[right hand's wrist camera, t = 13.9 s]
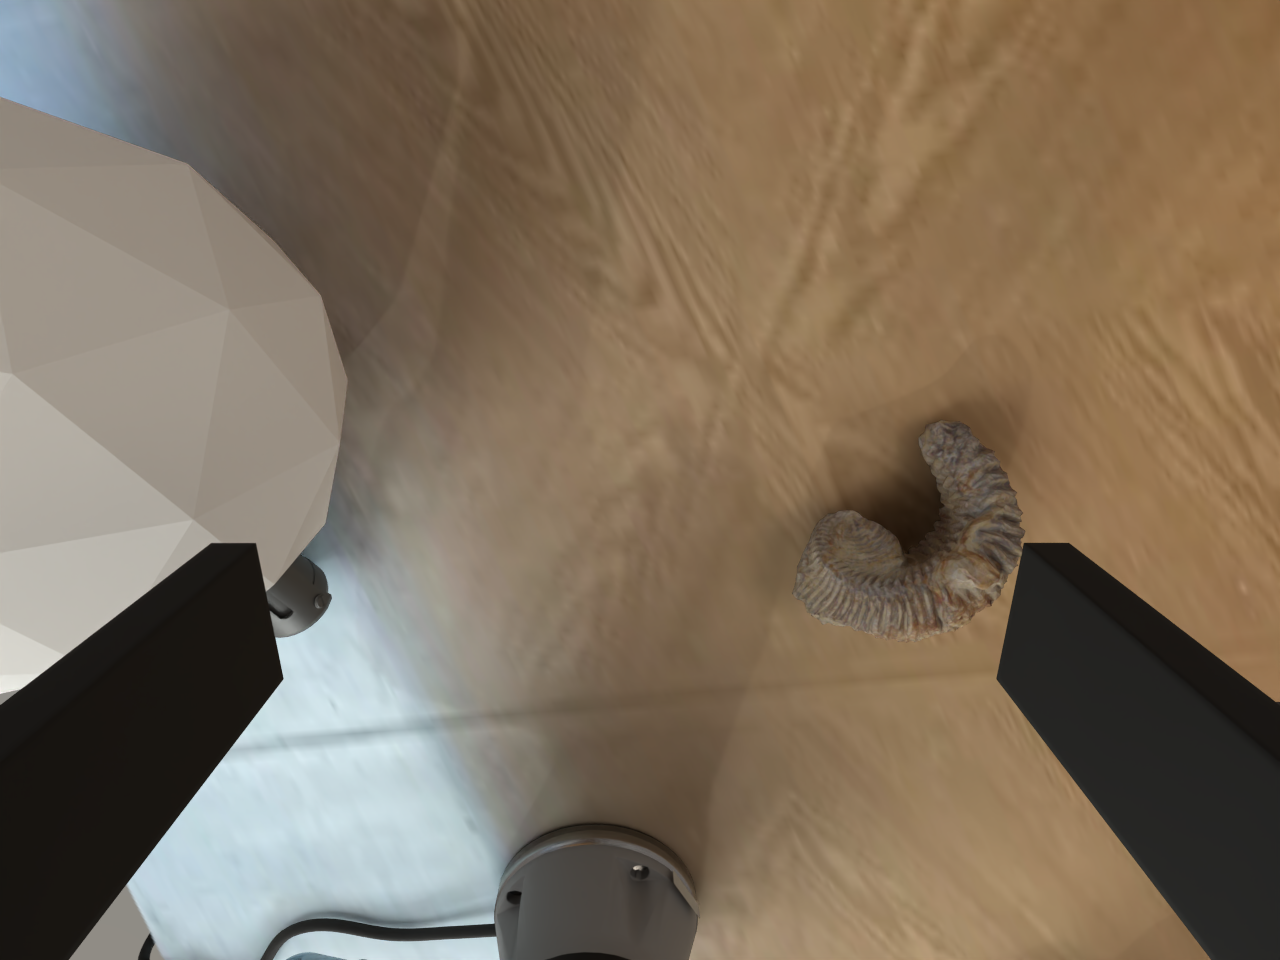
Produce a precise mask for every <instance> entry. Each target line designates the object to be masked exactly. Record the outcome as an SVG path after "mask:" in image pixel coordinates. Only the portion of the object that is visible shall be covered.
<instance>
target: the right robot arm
mask: <svg viewBox="0 0 1280 960" xmlns="http://www.w3.org/2000/svg"><path fill="white" fill-rule="evenodd" d="M282 680H283V674H282V669H281V664H280V659H279V654H278V649H277V644H276V639H275V634H274V629H273V624H272V619H271V615H270V610H269V605H268V600H267V595H266V590H265V585H264V580H263V575H262V570H261V565H260V560H259V555H258V550H257V545H256V543H211V544H209V545H208V546H207V547H205V548H204V549H203V550H201V551H200V552H199V553H198V554H196V555H195V556H194V557H192V558H191V559H190V560H188V561H187V562H186V563H185V564H183V565H182V566H181V567H179V568H178V569H177V570H175V571H174V572H173V573H172V574H170V575H169V576H168V577H166V578H165V579H164V580H162V581H161V582H160V583H159V584H157V585H156V586H155V587H153V588H152V589H151V590H149V591H148V592H147V593H146V594H144V595H143V596H142V597H140V598H139V599H138V600H136V601H135V602H134V603H133V604H131V605H130V606H129V607H127V608H126V609H125V610H123V611H122V612H121V613H120V614H118V615H117V616H116V617H114V618H113V619H112V620H110V621H109V622H108V623H107V624H105V625H104V626H103V627H101V628H100V629H99V630H97V631H96V632H95V633H94V634H92V635H91V636H90V637H88V638H87V639H86V640H84V641H83V642H82V643H81V644H79V645H78V646H77V647H75V648H74V649H73V650H71V651H70V652H69V653H68V654H66V655H65V656H64V657H62V658H61V659H60V660H58V661H57V662H56V663H55V664H53V665H52V666H51V667H49V668H48V669H47V670H45V671H44V672H43V673H42V674H40V675H39V676H38V677H36V678H35V679H34V680H32V681H31V682H30V683H29V684H27V685H26V686H25V687H23V688H22V689H21V690H19V691H18V692H17V693H16V694H14V695H13V696H12V697H10V698H9V699H8V700H6V701H5V702H4V703H3V704H1V705H0V960H69V959H70V957H71V956H72V955H73V953H74V952H75V951H76V949H77V948H78V947H79V946H80V944H81V943H82V942H83V940H84V939H85V938H86V936H87V935H88V934H89V933H90V931H91V930H92V929H93V927H94V926H95V925H96V923H97V922H98V921H99V919H100V918H101V917H102V915H103V914H104V913H105V912H106V910H107V909H108V908H109V906H110V905H111V904H112V902H113V901H114V900H115V899H116V897H117V896H118V895H119V893H120V892H121V891H122V889H123V888H124V887H125V885H126V884H127V883H128V882H129V880H130V879H131V878H132V876H133V875H134V874H135V872H136V871H137V870H138V868H139V867H140V866H141V865H142V863H143V862H144V861H145V859H146V858H147V857H148V855H149V854H150V853H151V851H152V850H153V849H154V848H155V846H156V845H157V844H158V842H159V841H160V840H161V838H162V837H163V836H164V835H165V833H166V832H167V831H168V829H169V828H170V827H171V825H172V824H173V823H174V821H175V820H176V819H177V818H178V816H179V815H180V814H181V812H182V811H183V810H184V808H185V807H186V806H187V804H188V803H189V802H190V801H191V799H192V798H193V797H194V795H195V794H196V793H197V791H198V790H199V789H200V787H201V786H202V785H203V784H204V782H205V781H206V780H207V778H208V777H209V776H210V774H211V773H212V772H213V770H214V769H215V768H216V767H217V765H218V764H219V763H220V761H221V760H222V759H223V757H224V756H225V755H226V753H227V752H228V751H229V750H230V748H231V747H232V746H233V744H234V743H235V742H236V740H237V739H238V738H239V736H240V735H241V734H242V733H243V731H244V730H245V729H246V727H247V726H248V725H249V723H250V722H251V721H252V720H253V718H254V717H255V716H256V714H257V713H258V712H259V710H260V709H261V708H262V706H263V705H264V704H265V703H266V701H267V700H268V699H269V697H270V696H271V695H272V693H273V692H274V691H275V689H276V688H277V687H278V686H279V684H280V683H281V682H282ZM997 680H998V682H999V683H1000V684H1001V686H1002V687H1003V688H1004V689H1005V691H1006V692H1007V693H1008V695H1009V696H1010V697H1011V699H1012V700H1013V701H1014V703H1015V704H1016V705H1017V706H1018V708H1019V709H1020V710H1021V712H1022V713H1023V714H1024V716H1025V717H1026V718H1027V720H1028V721H1029V722H1030V723H1031V725H1032V726H1033V727H1034V729H1035V730H1036V731H1037V733H1038V734H1039V735H1040V736H1041V738H1042V739H1043V740H1044V742H1045V743H1046V744H1047V746H1048V747H1049V748H1050V750H1051V751H1052V752H1053V753H1054V755H1055V756H1056V757H1057V759H1058V760H1059V761H1060V763H1061V764H1062V765H1063V767H1064V768H1065V769H1066V770H1067V772H1068V773H1069V774H1070V776H1071V777H1072V778H1073V780H1074V781H1075V782H1076V784H1077V785H1078V786H1079V787H1080V789H1081V790H1082V791H1083V793H1084V794H1085V795H1086V797H1087V798H1088V799H1089V801H1090V802H1091V803H1092V804H1093V806H1094V807H1095V808H1096V810H1097V811H1098V812H1099V814H1100V815H1101V816H1102V818H1103V819H1104V820H1105V821H1106V823H1107V824H1108V825H1109V827H1110V828H1111V829H1112V831H1113V832H1114V833H1115V835H1116V836H1117V837H1118V838H1119V840H1120V841H1121V842H1122V844H1123V845H1124V846H1125V848H1126V849H1127V850H1128V852H1129V853H1130V854H1131V855H1132V857H1133V858H1134V859H1135V861H1136V862H1137V863H1138V865H1139V866H1140V867H1141V868H1142V870H1143V871H1144V872H1145V874H1146V875H1147V876H1148V878H1149V879H1150V880H1151V882H1152V883H1153V884H1154V885H1155V887H1156V888H1157V889H1158V891H1159V892H1160V893H1161V895H1162V896H1163V897H1164V899H1165V900H1166V901H1167V902H1168V904H1169V905H1170V906H1171V908H1172V909H1173V910H1174V912H1175V913H1176V914H1177V916H1178V917H1179V918H1180V919H1181V921H1182V922H1183V923H1184V925H1185V926H1186V927H1187V929H1188V930H1189V931H1190V933H1191V934H1192V935H1193V936H1194V938H1195V939H1196V940H1197V942H1198V943H1199V944H1200V946H1201V947H1202V948H1203V950H1204V951H1205V952H1206V953H1207V955H1208V956H1209V957H1210V959H1211V960H1280V702H1275V701H1274V700H1272V699H1271V698H1270V697H1268V696H1267V695H1266V694H1264V693H1263V692H1262V691H1261V690H1259V689H1258V688H1257V687H1255V686H1254V685H1253V684H1251V683H1250V682H1249V681H1248V680H1246V679H1245V678H1244V677H1242V676H1241V675H1240V674H1238V673H1237V672H1236V671H1235V670H1233V669H1232V668H1231V667H1229V666H1228V665H1227V664H1225V663H1224V662H1223V661H1222V660H1220V659H1219V658H1218V657H1216V656H1215V655H1214V654H1212V653H1211V652H1210V651H1209V650H1207V649H1206V648H1205V647H1203V646H1202V645H1201V644H1199V643H1198V642H1197V641H1196V640H1194V639H1193V638H1192V637H1190V636H1189V635H1188V634H1186V633H1185V632H1184V631H1183V630H1181V629H1180V628H1179V627H1177V626H1176V625H1175V624H1173V623H1172V622H1171V621H1170V620H1168V619H1167V618H1166V617H1164V616H1163V615H1162V614H1160V613H1159V612H1158V611H1157V610H1155V609H1154V608H1153V607H1151V606H1150V605H1149V604H1147V603H1146V602H1145V601H1144V600H1142V599H1141V598H1140V597H1138V596H1137V595H1136V594H1134V593H1133V592H1132V591H1131V590H1129V589H1128V588H1127V587H1125V586H1124V585H1123V584H1121V583H1120V582H1119V581H1118V580H1116V579H1115V578H1114V577H1112V576H1111V575H1110V574H1108V573H1107V572H1106V571H1105V570H1103V569H1102V568H1101V567H1099V566H1098V565H1097V564H1095V563H1094V562H1093V561H1092V560H1090V559H1089V558H1088V557H1086V556H1085V555H1084V554H1082V553H1081V552H1080V551H1079V550H1077V549H1076V548H1075V547H1073V546H1072V545H1071V544H1069V543H1024V545H1023V550H1022V555H1021V560H1020V565H1019V570H1018V575H1017V580H1016V585H1015V590H1014V595H1013V600H1012V605H1011V610H1010V615H1009V619H1008V624H1007V629H1006V634H1005V639H1004V644H1003V649H1002V654H1001V659H1000V664H999V669H998V674H997ZM698 917H699V918H700V913H699V904H698V903H697V902H696V893H695V887H694V883H693V880H692V877H691V875H690V873H689V871H688V869H687V868H686V866H685V865H684V863H683V862H682V861H681V860H680V859H679V857H678V856H677V855H676V854H675V853H674V852H673V851H671V850H670V849H669V848H668V847H666V846H665V845H664V844H662V843H660V842H659V841H657V840H656V839H654V838H652V837H650V836H648V835H645V834H643V833H640V832H637V831H634V830H631V829H627V828H623V827H618V826H611V825H580V826H573V827H568V828H564V829H560V830H557V831H554V832H551V833H548V834H546V835H544V836H541V837H540V838H538V839H536V840H534V841H532V842H531V843H529V844H528V845H527V846H525V847H524V848H523V849H522V850H520V851H519V852H518V853H517V854H516V855H515V856H514V858H513V859H512V860H511V861H510V863H509V864H508V866H507V867H506V869H505V871H504V873H503V876H502V878H501V882H500V885H499V890H498V895H497V900H496V905H495V911H494V921H495V924H483V925H466V926H448V927H433V928H415V929H399V928H386V927H379V926H373V925H368V924H362V923H357V922H352V921H346V920H339V919H327V918H326V919H311V920H306V921H301V922H298V923H296V924H293V925H291V926H289V927H288V928H286V929H284V930H282V931H281V932H280V933H279V934H278V935H277V936H276V937H275V938H274V939H273V940H272V942H271V943H270V945H269V946H268V948H267V949H266V951H265V953H264V955H263V956H262V958H261V960H273V958H274V956H275V955H276V953H277V951H278V950H279V948H280V947H281V946H282V945H283V944H284V943H285V942H286V941H287V940H288V939H290V938H291V937H293V936H296V935H299V934H302V933H307V932H314V931H332V932H340V933H346V934H351V935H357V936H362V937H367V938H373V939H379V940H388V941H426V940H442V939H461V938H479V937H496V936H497V943H498V950H499V957H500V960H689V956H690V953H691V949H692V945H693V941H694V938H695V934H696V930H697V923H698ZM154 945H155V941H154V939H153V936H152V935H151V932H150V933H149V935H148V937H147V938H146V940H145V942H144V944H143V946H142V948H141V950H140V953H139V956H138V960H150V954H151V951H152V948H153V946H154ZM286 960H345V959H340V958H336V957H331V956H326V955H322V954H317V953H311V952H309V953H300V954H297V955H294V956H292V957H290V958H288V959H286ZM361 960H366V959H361Z"/></svg>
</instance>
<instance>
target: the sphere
mask: <svg viewBox="0 0 1280 960" xmlns="http://www.w3.org/2000/svg"><path fill="white" fill-rule="evenodd" d="M347 384H348V379H347V376H346V373H345V370H344V367H343V364H342V360H341V357H340V354H339V351H338V348H337V345H336V341H335V338H334V335H333V332H332V329H331V326H330V322H329V319H328V316H327V313H326V310H325V307H324V303H323V300H322V297H321V295H320V294H319V292H318V291H317V290H316V289H315V288H314V287H313V285H312V284H311V283H310V282H309V281H308V280H307V279H306V277H305V276H304V275H303V274H302V273H301V272H300V270H299V269H298V268H297V267H296V266H295V265H294V263H293V262H292V261H291V260H290V259H289V258H288V257H287V255H286V254H285V253H284V252H283V251H282V250H281V248H280V247H279V246H278V245H277V244H276V243H275V241H274V240H273V239H271V238H270V237H269V236H268V235H267V234H266V233H265V232H264V231H262V230H261V229H260V228H259V227H258V226H257V225H256V224H255V223H253V222H252V221H251V220H250V219H249V218H248V217H247V216H246V215H245V214H243V213H242V212H241V211H240V210H239V209H238V208H237V207H236V206H234V205H233V204H232V203H231V202H230V201H229V200H228V199H227V198H226V197H224V196H223V195H222V194H221V193H220V192H219V191H218V190H217V189H215V188H214V187H213V186H212V185H211V184H210V183H209V182H208V181H206V180H205V179H204V178H203V177H202V176H201V175H200V174H199V173H198V172H196V171H195V170H194V169H193V168H192V167H191V166H190V165H189V164H187V163H184V162H181V161H179V160H176V159H173V158H170V157H167V156H165V155H162V154H159V153H156V152H153V151H151V150H148V149H145V148H142V147H139V146H137V145H134V144H131V143H128V142H125V141H122V140H120V139H117V138H114V137H111V136H108V135H106V134H103V133H100V132H97V131H94V130H92V129H89V128H86V127H83V126H80V125H77V124H75V123H72V122H69V121H66V120H63V119H61V118H58V117H55V116H52V115H49V114H47V113H44V112H41V111H38V110H35V109H33V108H30V107H27V106H24V105H21V104H18V103H16V102H13V101H10V100H7V99H4V98H2V97H0V694H1V693H5V692H9V691H14V690H18V689H22V688H23V687H25V686H26V685H27V684H29V683H30V682H31V681H32V680H34V679H35V678H36V677H38V676H39V675H40V674H42V673H43V672H44V671H45V670H47V669H48V668H49V667H51V666H52V665H53V664H55V663H56V662H57V661H58V660H60V659H61V658H62V657H64V656H65V655H66V654H68V653H69V652H70V651H71V650H73V649H74V648H75V647H77V646H78V645H79V644H81V643H82V642H83V641H84V640H86V639H87V638H88V637H90V636H91V635H92V634H94V633H95V632H96V631H97V630H99V629H100V628H101V627H103V626H104V625H105V624H107V623H108V622H109V621H110V620H112V619H113V618H114V617H116V616H117V615H118V614H120V613H121V612H122V611H123V610H125V609H126V608H127V607H129V606H130V605H131V604H133V603H134V602H135V601H136V600H138V599H139V598H140V597H142V596H143V595H144V594H146V593H147V592H148V591H149V590H151V589H152V588H153V587H155V586H156V585H157V584H159V583H160V582H161V581H162V580H164V579H165V578H166V577H168V576H169V575H170V574H172V573H173V572H174V571H175V570H177V569H178V568H179V567H181V566H182V565H183V564H185V563H186V562H187V561H188V560H190V559H191V558H192V557H194V556H195V555H196V554H198V553H199V552H200V551H201V550H203V549H204V548H205V547H207V546H208V545H209V544H211V543H256V545H257V550H258V555H259V560H260V565H261V570H262V575H263V580H264V585H265V590H266V595H267V600H268V605H269V610H270V615H271V619H272V624H273V629H274V634H275V637H278V638H281V637H289V636H292V635H296V634H298V633H300V632H302V631H304V630H306V629H307V628H309V627H311V626H312V625H313V624H314V623H316V622H317V621H318V620H319V619H320V618H321V617H322V615H323V614H324V613H325V611H326V610H327V608H328V606H329V604H330V602H331V599H332V596H331V594H329V593H328V583H327V579H326V576H325V574H324V572H323V571H322V570H321V569H320V568H319V567H318V566H317V565H315V564H314V563H313V562H311V561H310V560H309V559H307V558H305V557H303V556H301V555H300V553H301V552H302V551H303V550H304V549H305V547H306V546H307V545H308V544H309V543H310V541H311V540H312V539H313V538H314V537H315V536H316V534H317V533H318V532H319V531H320V530H321V528H322V527H323V526H324V525H325V524H326V518H327V513H328V507H329V502H330V496H331V491H332V485H333V480H334V474H335V469H336V463H337V458H338V452H339V447H340V440H341V432H342V424H343V416H344V408H345V400H346V392H347Z"/></svg>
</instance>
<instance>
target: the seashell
mask: <svg viewBox="0 0 1280 960" xmlns="http://www.w3.org/2000/svg"><path fill="white" fill-rule="evenodd" d="M919 447H920V448H921V453H922V456H923V458H924V459H925V461H926V463H927V464H928V465H929V466H930V469H931V473H932V474H933V475H934V476H935V477H936V484H937V490H938V491H939V492H940V493H941V494H942V495H940V501H941V503H942V504H944V505H945V506H944V507H942V508H939V517H940V519H941V520H940V521H935V523H934V525H933V526H934V529H935V531H931V532H928V533H927V534H926V535H925V538H926V540H924V541H920V542H919V545H918V547H913V546H912V547H911V548H910V549H909V551H908V554H906V553H903V551H902V548H901V545H900V542H899V540H898V539H897V537H896V536H895V535H893V534H892V533H891V532H890V531H889V530H886V529H885V528H884V527H883V526H881V525H880V524H878V523H876V522H874V521H870V520H868V519H866V518H863V517H862V516H861V515H860V514H859V512H856V511H853V510H843V511H838V512H837V513H835V514H827V515H826V516H825V517H824V518H822V519H821V520H820V521H819V522H818V523H817V525H816V527H815V528H814V530H813V532H812V534H811V538H810V541H809V542H808V544H807V546H806V548H805V550H804V552H803V554H802V557H801V560H800V562H799V564H798V566H797V578H796V583H795V586H794V590H793V593H792V594H793V595H794V596H795V597H796V598H797V599H798V600H801V601H803V602H805V606H806V610H807V612H808V613H810V614H811V616H813V617H815V618H817V619H819V620H820V621H821V623H822V624H826V623H830V624H832V625H835V626H843V627H844V626H851V627H852V628H853V629H854V630H855V631H859V630H862V631H864V632H866V633H868V634H872V635H874V636H875V638H882V639H886V640H888V639H895V640H897V641H898V642H899V641H905V642H908V641H914V642H916V641H918V640H921V639H923V638H928V637H931V636H933V635H934V634H942V633H944V632H946V633H947V632H948V631H956V630H957V629H958V628H959V627H963V625H965V624H968V623H970V622H971V618H972V617H973V616H974V615H975V613H977V612H980V611H981V610H982V609H984V608H985V607H990V606H992V605H991V604H992V603H993V602H994V601H995V600H996V599H997V598H998V597H999V596H1000V595H1001V589H1002V588H1003V587H1004V584H1005V583H1006V582H1007V578H1008V574H1011V573H1012V571H1013V569H1014V568H1015V567H1016V566H1018V564H1017V561H1018V558H1019V557H1021V555H1022V550H1023V549H1022V547H1021V540H1020V539H1021V538H1023V536H1024V534H1025V530H1023V529H1022V528H1021V527H1020V526H1019V524H1020V522H1022V521H1021V518H1020V516H1021V515H1022V514H1023V512H1022V511H1021V510H1020V509H1019V507H1018V505H1017V499H1016V498H1015V495H1016V493H1017V492H1016V491H1014V490H1013V489H1012V488H1011V486H1010V485H1009V480H1008V476H1007V473H1006V472H1004V471H1003V470H1002V469H1001V467H1000V461H999V460H998V459H997V458H996V457H995V456H994V453H995V451H993V450H990V449H987V448H986V447H984V446H983V445H982V444H980V442H979V439H977V438H975V437H974V436H973V435H972V432H971V429H970V427H968V426H967V425H965V424H963V423H961V422H960V421H958V422H948V421H944V420H940V421H939V422H937V423H932V424H928V425H926V428H925V432H924V433H923V434H921V435H920V437H919Z"/></svg>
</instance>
